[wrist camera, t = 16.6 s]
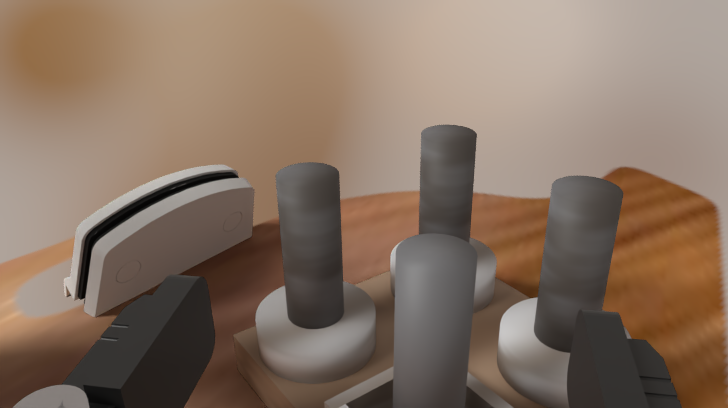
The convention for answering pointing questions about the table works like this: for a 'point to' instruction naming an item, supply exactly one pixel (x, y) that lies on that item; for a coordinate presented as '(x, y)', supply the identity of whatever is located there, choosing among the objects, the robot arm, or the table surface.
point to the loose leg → (433, 320)
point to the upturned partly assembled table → (377, 295)
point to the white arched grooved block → (158, 234)
